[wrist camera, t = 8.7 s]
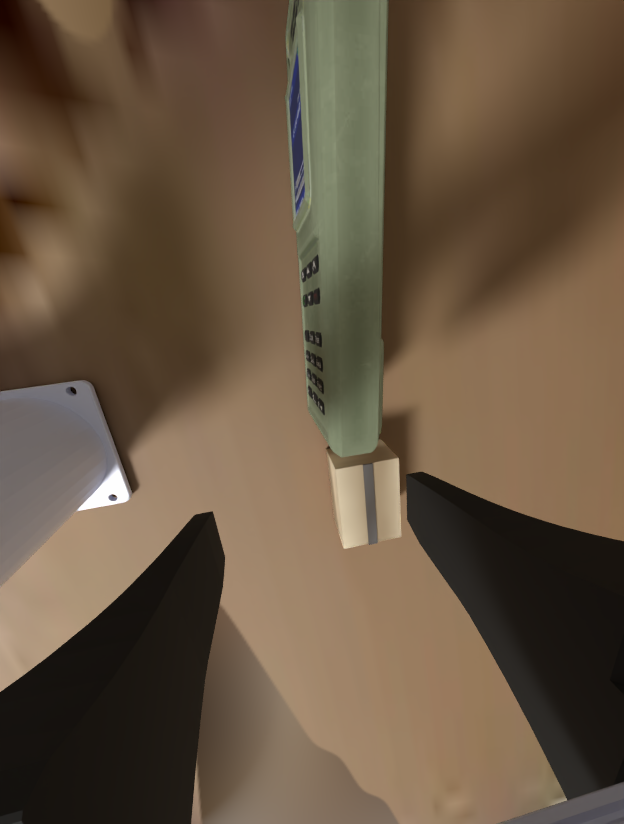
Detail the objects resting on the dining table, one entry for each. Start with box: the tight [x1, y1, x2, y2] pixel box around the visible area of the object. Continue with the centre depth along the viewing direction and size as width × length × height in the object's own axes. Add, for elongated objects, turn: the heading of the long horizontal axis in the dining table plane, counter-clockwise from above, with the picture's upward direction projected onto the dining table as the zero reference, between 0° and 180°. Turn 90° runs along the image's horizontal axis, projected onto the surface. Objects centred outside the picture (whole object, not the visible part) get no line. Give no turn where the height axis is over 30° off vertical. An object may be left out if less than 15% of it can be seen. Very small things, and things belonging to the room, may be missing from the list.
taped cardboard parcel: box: [326, 439, 401, 549], centre depth 14 cm, size 4×42×3 cm, turn 7°
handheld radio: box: [285, 0, 389, 458], centre depth 13 cm, size 7×3×25 cm
